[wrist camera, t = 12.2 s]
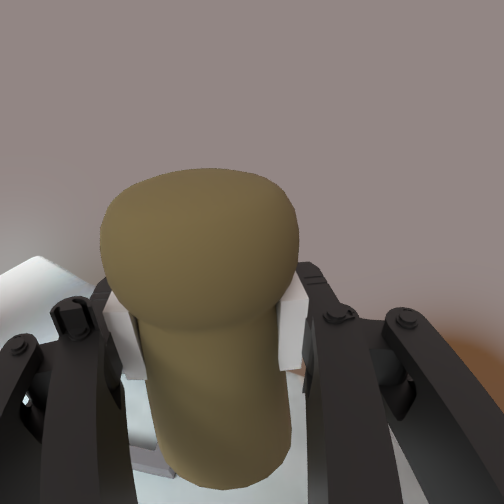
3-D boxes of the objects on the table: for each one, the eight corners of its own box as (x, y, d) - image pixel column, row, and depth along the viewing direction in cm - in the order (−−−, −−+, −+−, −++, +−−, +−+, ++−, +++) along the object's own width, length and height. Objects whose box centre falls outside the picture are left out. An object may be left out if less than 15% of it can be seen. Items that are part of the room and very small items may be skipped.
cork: (149, 396, 14) (89, 171, 9) (262, 370, 16) (263, 150, 11) (172, 503, 9) (40, 245, 4) (315, 462, 11) (377, 195, 6)
